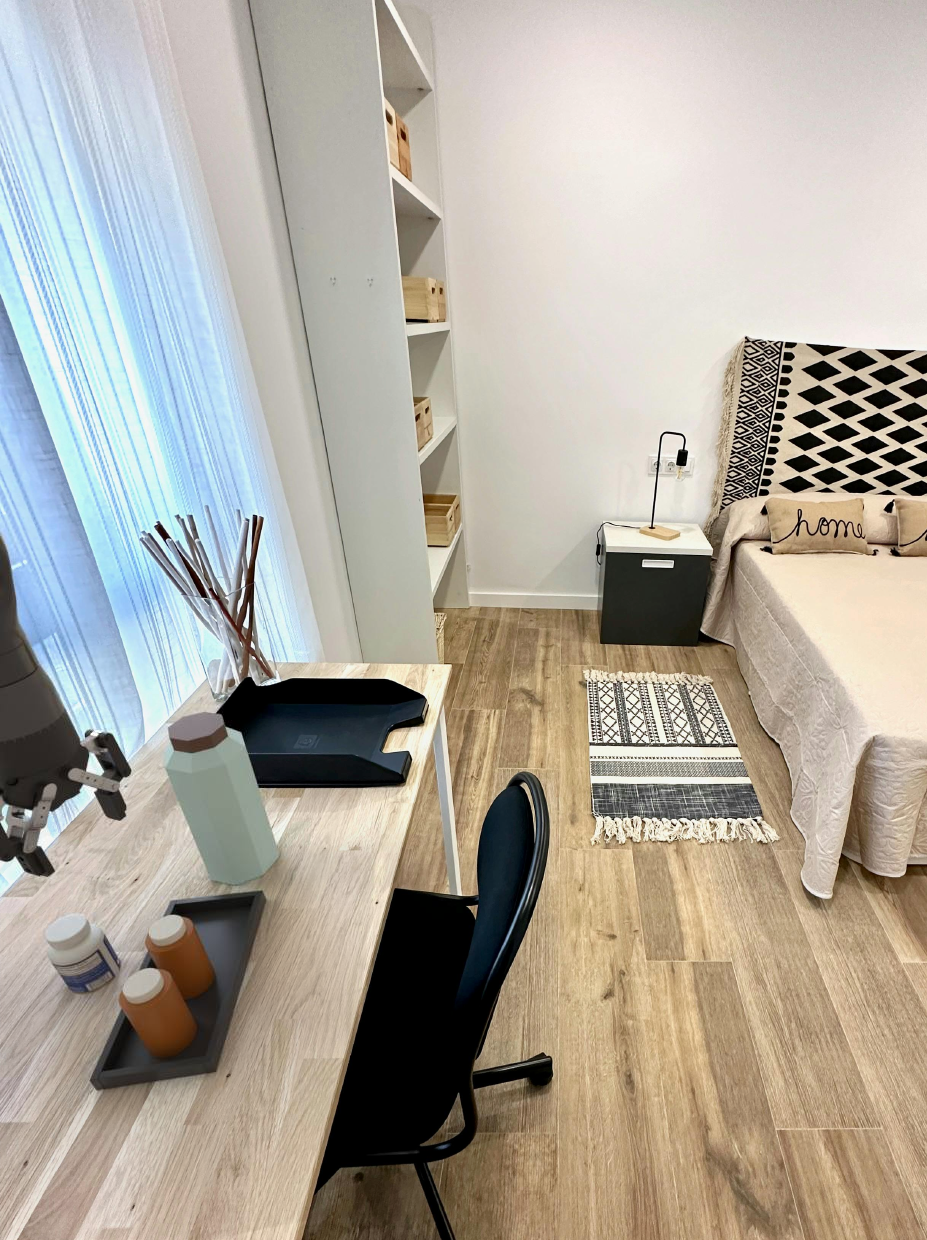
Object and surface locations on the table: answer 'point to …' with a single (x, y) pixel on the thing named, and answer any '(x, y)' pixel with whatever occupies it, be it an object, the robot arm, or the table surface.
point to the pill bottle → (81, 954)
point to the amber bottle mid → (180, 954)
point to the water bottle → (220, 798)
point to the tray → (228, 946)
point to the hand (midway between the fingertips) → (82, 844)
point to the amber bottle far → (158, 1012)
